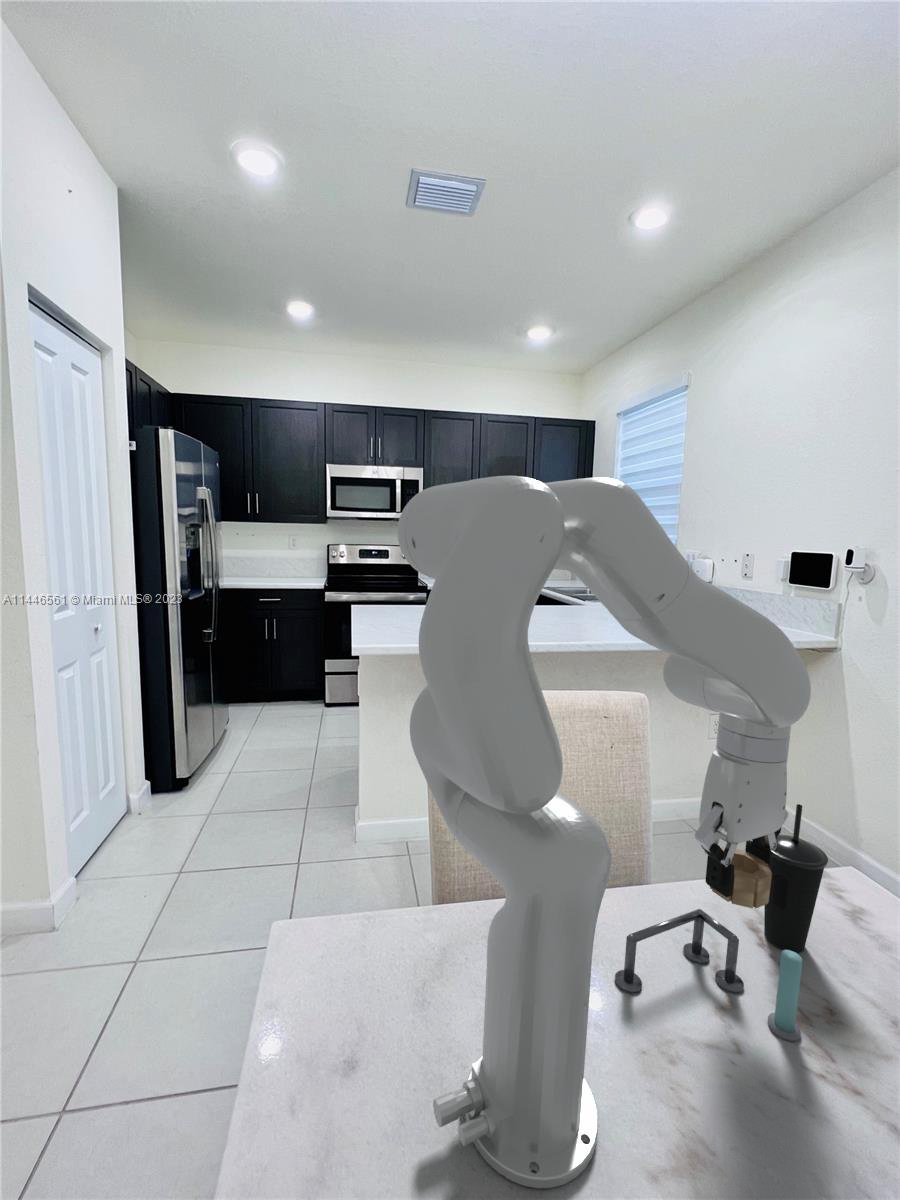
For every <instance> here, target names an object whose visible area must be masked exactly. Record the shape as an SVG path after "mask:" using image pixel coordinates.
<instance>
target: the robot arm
mask: <svg viewBox="0 0 900 1200" xmlns="http://www.w3.org/2000/svg"><path fill="white" fill-rule="evenodd" d="M396 536H397V542H398V545H399V549H400V551H401V553H402V556H403V557H404V558H405V560H406V562H407V563H408V564H409V565H410V566H411V567H412V568H413V569H414V570H415V571H417V572H418V573H420V574H421V575H423V576H425V577H428V578H430V579H434V582H433V585H432V586H431V591H430V592H429V595H428V599H427V600H426V601H427V602H426V603H425V607H424V611H423V613H422V617H421V621H420V626H419V633H418V654H419V660H420V665H421V669H422V672H423V675H424V678H425V681H426V683H427V685H426V686H425V687H424V688H423V689H422V690H421V692H420V693H419V694H418V696H417V698H416V700H415V701H414V703H413V707H412V710H411V713H410V718H409V735H410V743H411V747H412V751H413V753H414V755H415V758H416V761H417V762H418V764H419V767H420V769H421V771H422V774H423V777H424V779H425V780H426V781H425V782H426V784H427V785H428V788H429V790H430V791H431V794H432V796H433V798H434V800H435V803H436V805H437V807H438V810H439V811H440V812H439V813H440V814H441V816H442V818H443V820H444V822H445V823H446V827H448V829H449V831H450V832H451V834H452V835H453V836H454V838H455V839H456V840H457V841H458V843H459V844H460V845H461V846H463V848H465V850H467V852H468V853H470V855H471V856H473V857H474V858H475V859H476V860H477V861H478V862H479V863H480V864H481V865H482V866H483V867H484V868H485V869H486V870H487V872H488V873H490V874H491V875H492V876H493V877H494V878H495V879H496V880H497V882H498V883H499V885H501V888H502V889H503V892H504V896H505V901H504V904H503V906H502V907H500V909H498V911H497V912H496V913H495V914H494V915H493V918H492V920H491V923H490V925H489V929H488V934H487V935H488V936H487V946H486V975H485V976H486V977H485V997H484V999H485V1000H484V1019H483V1034H482V1035H483V1038H482V1039H483V1040H482V1055H481V1056H480V1057H479V1058H478V1059H477V1060H476V1061H475V1062H472V1064H471V1069H470V1070H469V1074H468V1077H467V1079H466V1080H465V1081H464V1082H463V1083H462V1088H460V1089H458V1090H456V1091H453V1092H452V1091H450V1092H447V1093H446V1094H443V1095H441V1096H439V1097H437V1098H435V1099H433V1102H432V1107H433V1114H434V1118H435V1122H436V1123H437V1125H438V1127H439V1128H443V1127H444V1126H446V1125H448V1124H450V1123H453V1122H454V1121H456V1120H459V1119H460V1117H463V1116H464V1118H465V1122H463V1123H460V1124H459V1125H458V1126H457V1131H458V1132H457V1133H458V1138H459V1141H460V1143H461V1144H462V1146H463V1147H466V1146H467V1145H470V1144H472V1143H473V1144H474V1146H475V1148H476V1150H477V1151H478V1152H479V1154H480V1156H482V1158H483V1159H484V1161H485V1162H486V1163H487V1164H489V1166H491V1168H492V1169H493V1170H495V1171H496V1172H497V1173H498V1174H500V1175H501V1176H503V1177H504V1178H506V1179H508V1180H510V1181H512V1182H514V1183H516V1184H518V1185H521V1186H524V1187H529V1188H533V1189H553V1188H557V1187H559V1186H560V1187H561V1186H563V1185H566V1184H568V1183H570V1182H572V1181H573V1180H574V1179H576V1178H577V1177H578V1176H580V1174H581V1173H583V1171H585V1169H586V1168H587V1166H588V1165H589V1163H590V1161H591V1160H592V1158H593V1156H594V1153H595V1150H596V1146H597V1140H598V1131H599V1114H598V1109H597V1103H596V1101H595V1098H594V1095H593V1092H592V1090H591V1089H590V1087H589V1085H588V1083H587V1081H586V1079H585V1068H586V1067H585V1063H586V1050H587V1049H586V1048H587V1039H588V1038H587V1037H588V1036H587V1035H588V1022H589V1009H590V1007H589V1005H590V996H591V995H590V993H591V992H590V991H591V978H592V964H593V963H592V962H593V950H594V941H595V935H596V934H595V933H596V927H597V922H598V917H599V913H600V909H601V905H602V902H603V899H604V895H605V892H606V890H607V889H606V888H607V885H608V882H609V877H610V874H611V867H612V850H611V849H612V848H611V846H610V843H609V842H610V841H609V840H608V837H607V835H606V833H605V832H604V830H603V829H602V827H601V826H600V824H599V822H597V821H596V819H594V817H592V815H590V813H588V812H587V811H586V810H584V808H582V807H581V806H580V805H578V804H577V803H575V802H574V801H572V800H571V799H569V798H567V797H566V796H564V795H563V794H561V793H560V792H558V791H559V789H560V787H561V782H562V779H563V773H564V771H563V770H564V769H563V754H562V749H561V745H560V741H559V737H558V734H557V731H556V728H555V725H554V723H553V720H552V717H551V714H550V711H549V709H548V705H547V702H546V700H545V697H544V693H543V691H542V688H541V684H540V682H539V679H538V676H537V673H536V670H535V667H534V662H533V658H532V655H531V651H530V646H529V645H530V644H529V627H530V622H531V617H532V614H533V611H534V609H535V605H536V604H537V601H538V599H539V597H540V595H541V592H542V591H543V589H544V587H545V585H546V583H547V581H548V579H549V578H550V575H552V572H553V571H554V570H561V571H567V572H569V573H571V574H574V575H575V576H576V577H577V578H578V579H579V580H580V581H581V582H582V584H583V585H584V586H585V587H586V588H587V589H588V590H589V591H590V593H592V594H593V595H594V597H596V598H597V600H598V601H599V602H600V604H602V605H603V607H604V608H605V609H607V611H608V612H609V613H610V614H611V615H612V616H613V618H614V619H615V620H616V622H618V624H619V625H620V626H621V627H622V628H623V629H624V630H625V631H626V632H627V633H629V634H630V635H631V636H633V637H635V638H637V639H639V640H640V641H642V642H644V643H646V644H648V645H650V646H652V647H654V648H656V649H658V650H660V651H662V652H664V653H667V654H668V656H667V657H666V659H665V661H664V663H663V670H662V673H663V680H664V683H665V686H666V687H667V689H668V691H670V693H671V694H673V696H675V697H676V698H678V699H679V700H681V701H683V702H685V703H687V704H690V705H693V706H695V707H696V706H697V707H699V708H702V709H706V710H709V711H712V712H715V713H719V715H718V724H717V733H716V734H717V736H716V745H715V749H716V750H714V751H713V752H712V754H711V756H710V760H709V762H708V765H707V770H706V774H705V777H704V782H703V783H704V784H703V789H702V793H701V801H700V807H699V817H698V822H699V827H698V829H697V830H696V832H695V833H694V838H695V839H696V841H697V842H698V843H699V844H700V847H701V849H703V850H704V853H705V855H707V859H706V871H705V884H706V885H708V886H709V888H710V887H712V888H713V889H715V890H716V891H718V892H719V893H721V894H722V895H724V896H725V897H730V896H731V895H732V886H733V877H734V865H732V864H730V863H731V861H732V858H733V856H734V853H735V850H736V849H738V848H737V847H738V844H740V843H744V842H745V850H744V851H746V853H748V852H749V853H751V854H752V855H754V856H756V857H758V858H759V859H761V860H763V861H765V863H767V864H768V865H769V868H770V870H771V867H772V858H773V852H771V851H774V850H775V849H776V846H777V843H776V838H777V837H778V835H781V831H782V827H783V825H784V824H785V822H786V821H787V819H788V817H789V812H788V810H787V809H786V805H787V791H788V790H787V788H788V771H787V770H788V768H787V765H788V758H789V757H788V756H789V749H790V741H791V729H792V725H793V724H795V723H797V722H798V721H799V720H800V719H802V717H803V716H804V714H805V713H806V711H807V710H808V707H809V705H810V703H811V695H812V694H811V693H812V691H811V686H812V685H811V680H810V676H809V672H808V670H807V666H806V665H805V663H804V661H803V659H802V657H801V655H800V653H799V652H798V650H797V649H796V647H795V646H794V644H793V643H792V641H791V640H790V638H789V637H788V636H787V635H786V634H785V633H784V631H783V630H782V629H781V628H780V627H779V626H778V625H776V624H775V622H773V621H771V620H770V619H769V618H768V617H766V616H765V615H763V614H762V613H760V612H759V611H757V610H755V609H754V608H752V607H750V606H749V605H748V604H745V603H744V602H742V601H741V600H739V599H737V598H736V597H734V596H733V595H731V594H730V593H727V592H726V591H724V590H722V589H721V588H719V587H718V586H715V585H714V584H712V583H710V582H708V581H707V580H704V579H703V578H702V577H699V576H698V575H697V574H696V573H695V572H694V570H693V568H692V567H691V566H690V564H689V563H688V561H687V560H686V559H685V557H684V556H683V554H681V552H680V551H679V549H678V548H677V547H676V545H675V544H674V543H673V541H672V539H670V537H669V536H668V534H667V532H666V530H664V528H663V527H662V525H661V524H660V523H659V521H658V520H657V519H656V517H655V516H654V514H653V513H652V512H651V510H650V509H649V508H648V506H647V505H646V503H645V502H644V500H643V499H642V498H641V496H639V494H638V493H637V492H636V491H635V490H634V489H633V488H632V487H631V486H630V485H628V484H626V483H625V482H623V481H621V480H618V479H615V478H611V477H599V476H598V477H585V478H576V479H568V480H559V481H552V482H542V481H540V480H536V479H535V478H531V477H528V476H520V475H519V476H518V475H497V476H488V477H481V478H475V479H469V480H465V481H457V482H451V483H446V484H445V483H443V484H438V485H434V486H430V487H427V488H425V489H423V490H421V491H419V492H418V493H416V494H415V495H414V496H413V497H412V498H411V499H410V500H409V501H408V502H407V504H406V505H405V506H404V508H403V509H402V512H401V514H400V516H399V519H398V524H397V535H396ZM722 830H724V832H725V833H724V832H722ZM720 840H723V841H724V842H726V845H725V847H724V848H725V850H724V851H723V850H722V849H721V848H722V847H721V846H720V845H719V842H720ZM770 850H771V851H770Z"/></svg>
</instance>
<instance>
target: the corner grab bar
mask: <svg viewBox="0 0 900 1200" xmlns="http://www.w3.org/2000/svg"><path fill="white" fill-rule="evenodd" d="M691 922H693V929H692V931H693V932H692V942H688V943H686V944H684V946H683V949H682V951H683V952H682V953H683V955H684V957H685V958H687V959H688V960H689V961H691V962H693V963H695V964H699V965H706V964H707V963H709V962H710V953H709V951H708V950H707V949H706V948H705V947H704V946H703V941H704V940H703V939H704V938H703V937H704V929H705V928H704V927H705V924H707V925H708V926H709V927H711V928H712V929H713V930H715V931H716V932H717V933H718V934H720V935H721V936H722V937H724V938H725V939H727V948H726V956H725V964H724V965H725V966H724V969H719V970H717V971H716V972H715V974H714V979H715V982H716V983H717V985H718V986H719V987H720V988H721V989H723V990H725V991H726V992H729V993H732V994H740V993H742V992H743V991H744V989H745V988H744V987H745V983H744V981H743V979H742V978H741V977H740V976H739V975H738V974H737V963H738V957H739V955H738V954H739V946H740V945H739V944H740V939H739V937H738V936H737V935H736V934H735V933H733V932H732V931H730V930H729V929H728V928H726V926H724V925H722V924H721V923H720V922H719V921H717V920H716V919H715V918H714V917H712V916H710V914H708V913H706V912H705V911H704V910H702V909H701V908H698V909H693V910H692V911H689V912H686V913H684V914H681V915H678V916H676V917H673V918H671V919H668V920H665V921H663V922H660V923H656V924H654V925H651V926H648V927H646V928H643V929H640V930H637V931H634V932H632V933H629V934H628V935H627V936H626V941H625V952H624V954H625V955H624V956H625V957H624V964H623V965H624V967H623V969H621V970H618V971H617V972H616V973H615V975H614V982H615V985H616V986H617V988H618V989H620V991H621V990H622V991H623V992H625V993H626V994H631V995H634V994H638V993H640V992H641V991H642V989H643V981H642V980H641V978H640V976H638V974H637V973H636V972H635V969H636V968H635V966H636V955H637V943H638V942H641V941H644V940H646V939H648V938H651V937H654V936H657V935H659V934H662V933H664V932H668V931H670V930H673V929H675V928H678V927H681V926H683V925H686V924H689V923H691Z"/></svg>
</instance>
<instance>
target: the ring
mask: <svg viewBox="0 0 900 1200" xmlns="http://www.w3.org/2000/svg"><path fill="white" fill-rule="evenodd" d="M720 848H721V849H722V850H723V851H724V850H725V847H723V846H722V847H720ZM730 864H732V865H734V877H733V886H732V895H731V896H730V897H725V896H724V895H722V894H721V893H719V892H718V891H716V890H715V889H713V888H712V887H710V886H709V889H710V890H711V891H712V892H713V893H715V894H716V895H717V896H719V897H720V898H721V899H723V900H725V901H726V902H727V903H729V902H731V904H732V905H736V906H740V907H744V908H745V907H746V908H749V909H754V908H755V909H758V908H760V907H763V906H764V905H766V904H768V902H769V896H770V887H771V878H772V873H771V870H770V868H769V865H768V864H767V863H765V861H763V860H761V859H759V858H758V857H756V856H754V855H752V854H751V853H749V852H748V853H746V851H745V850H743V849H739V848H736V850H735V853H734V856H733V858H732V861H731V863H730Z"/></svg>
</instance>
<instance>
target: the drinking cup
mask: <svg viewBox="0 0 900 1200" xmlns="http://www.w3.org/2000/svg"><path fill="white" fill-rule="evenodd" d="M795 807H796V808H795V816H794V817H795V818H794V826H793V833H792V835H788V834H779V835H778V837H777V838H776V843H777V846H776V849H775V850H774V851H771V850H770V851H771V852H773V858H772V867H771V873H772V878H771V887H770V896H769V902H768V904H766V905H763V906H764V910H763V911H764V917H763V918H764V921H763V922H764V924H763V925H764V930H763V931H764V937H765V939H766V940H767V941H768V942H769V944H771V945H772V946H774V947H775V948H777V949H779V950H781V951H783V950H790V951H793V952H795V953H797V954H800V953H802V952H804V950H805V947H806V945H807V944H806V943H807V939H808V935H809V932H810V927H811V923H812V919H813V914H814V911H815V907H816V903H817V899H818V895H819V891H820V888H821V887H820V886H821V883H822V878H823V873H824V870H825V868H826V867H827V865H828V864H829V857H828V856H827V853H825V851H824V850H822V849H821V848H819V847H818V846H817V845H815V844H813V843H811V842H809V841H807V840H805V839H802V838H800V831H801V824H802V823H801V821H802V813H803V805H801V804H798V803H797V804H796V806H795Z"/></svg>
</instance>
